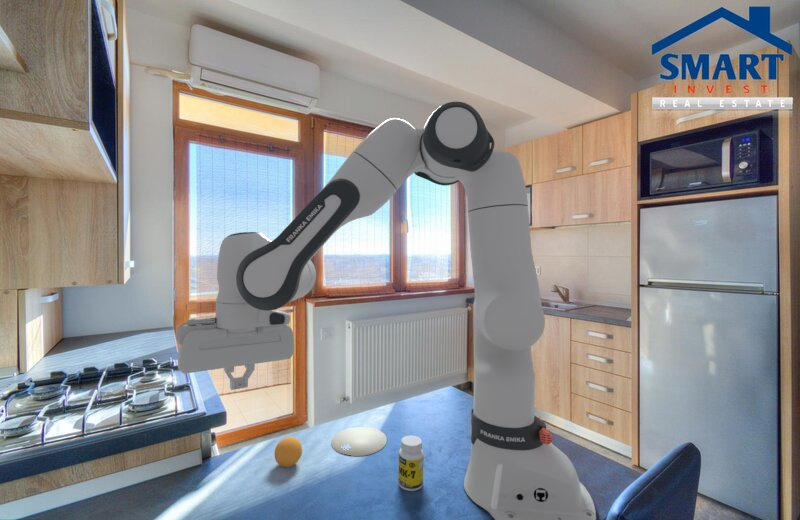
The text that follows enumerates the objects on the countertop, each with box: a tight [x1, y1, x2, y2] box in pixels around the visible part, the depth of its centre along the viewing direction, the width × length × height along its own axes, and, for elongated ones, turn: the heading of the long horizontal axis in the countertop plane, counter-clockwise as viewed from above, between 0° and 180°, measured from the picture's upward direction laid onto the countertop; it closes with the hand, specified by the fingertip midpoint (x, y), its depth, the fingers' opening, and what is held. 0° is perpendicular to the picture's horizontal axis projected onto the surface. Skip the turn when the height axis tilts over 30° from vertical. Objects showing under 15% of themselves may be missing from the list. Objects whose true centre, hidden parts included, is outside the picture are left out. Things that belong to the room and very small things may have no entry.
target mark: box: [331, 426, 388, 457], centre depth 82 cm, size 13×13×1 cm
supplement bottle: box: [397, 435, 425, 492], centre depth 67 cm, size 5×5×8 cm
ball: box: [273, 436, 303, 468], centre depth 72 cm, size 6×6×6 cm
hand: (238, 387), depth 67 cm, fingers closed
